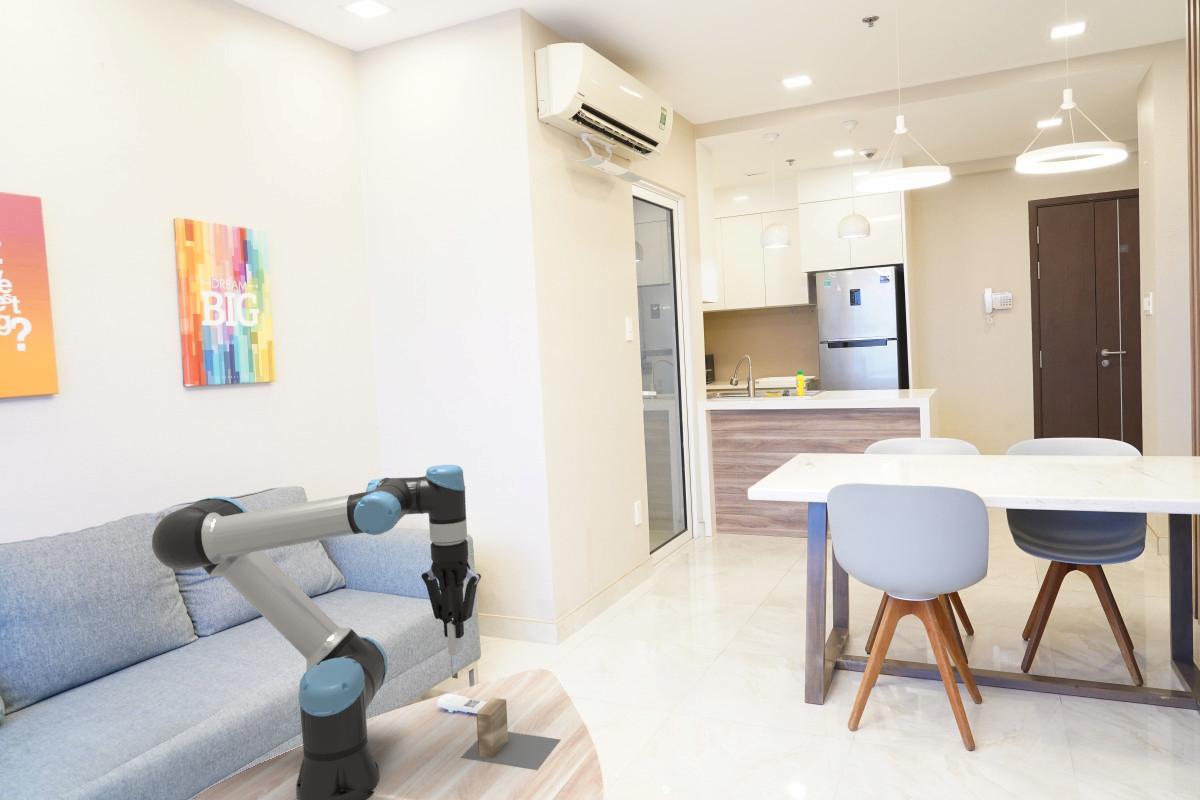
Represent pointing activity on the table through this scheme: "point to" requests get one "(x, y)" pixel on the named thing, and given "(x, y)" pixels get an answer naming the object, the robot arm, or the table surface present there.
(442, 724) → the table surface
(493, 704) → the brown wooden block
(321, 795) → the robot arm
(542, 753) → the mat
